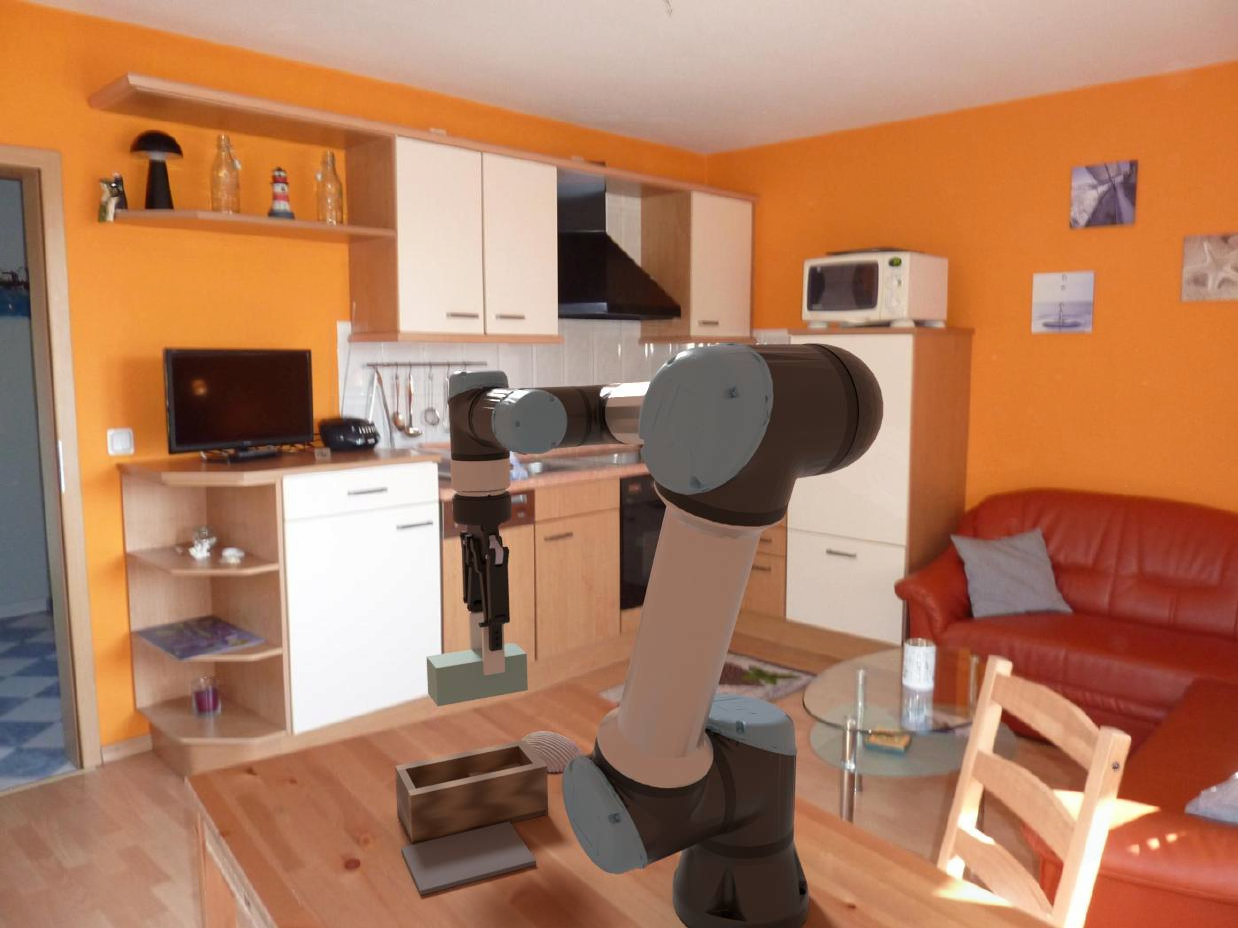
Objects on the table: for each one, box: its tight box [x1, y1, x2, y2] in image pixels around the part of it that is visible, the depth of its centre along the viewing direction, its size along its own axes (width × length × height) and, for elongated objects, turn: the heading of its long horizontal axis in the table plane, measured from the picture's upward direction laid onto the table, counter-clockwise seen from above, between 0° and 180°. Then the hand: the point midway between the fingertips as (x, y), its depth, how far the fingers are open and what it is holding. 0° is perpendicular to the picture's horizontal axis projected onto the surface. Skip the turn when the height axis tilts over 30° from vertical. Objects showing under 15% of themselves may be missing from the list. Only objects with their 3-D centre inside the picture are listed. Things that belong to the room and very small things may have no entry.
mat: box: [400, 822, 537, 896], centre depth 112 cm, size 10×14×1 cm
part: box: [426, 642, 529, 707], centre depth 120 cm, size 12×5×5 cm, turn 115°
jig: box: [394, 739, 549, 845], centre depth 122 cm, size 18×9×7 cm, turn 115°
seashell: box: [521, 730, 584, 774], centre depth 139 cm, size 10×6×10 cm
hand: (487, 665), depth 121 cm, fingers closed on part, 5 cm apart
